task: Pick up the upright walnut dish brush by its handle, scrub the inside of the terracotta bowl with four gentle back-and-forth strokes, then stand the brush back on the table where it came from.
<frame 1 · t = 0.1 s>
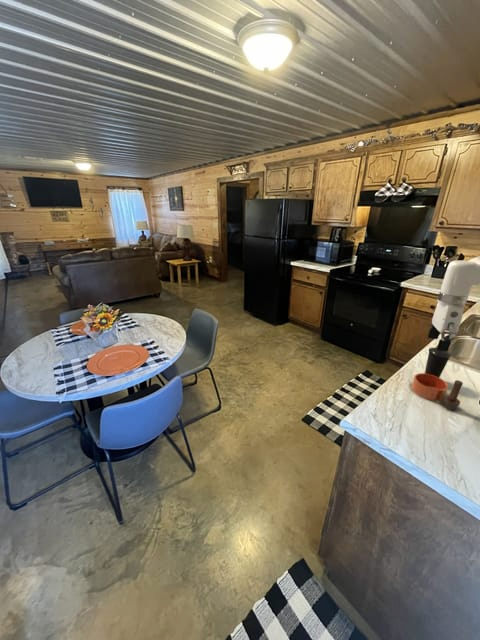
hand: (436, 344, 94), 23 cm above the counter, tool pointing down, fingers open, 9 cm apart
bowl: (427, 391, 106), on the counter
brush: (449, 406, 98), on the counter
drinking cup: (430, 380, 113), on the counter
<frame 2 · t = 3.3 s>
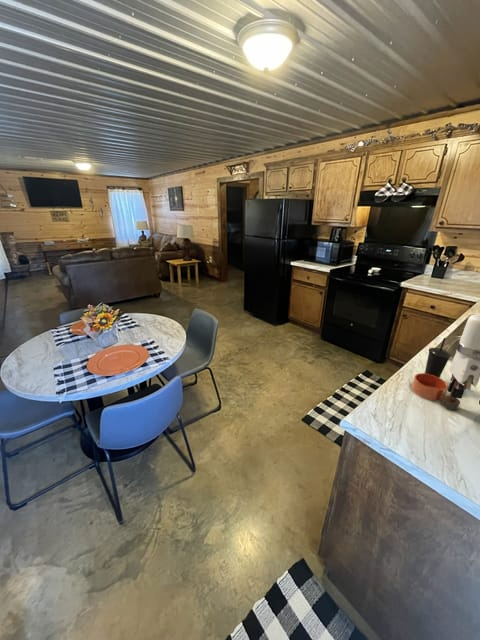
hand: (454, 394, 95), 6 cm above the counter, tool pointing down, fingers closed on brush
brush: (449, 406, 98), on the counter, touching gripper
everything else where it was.
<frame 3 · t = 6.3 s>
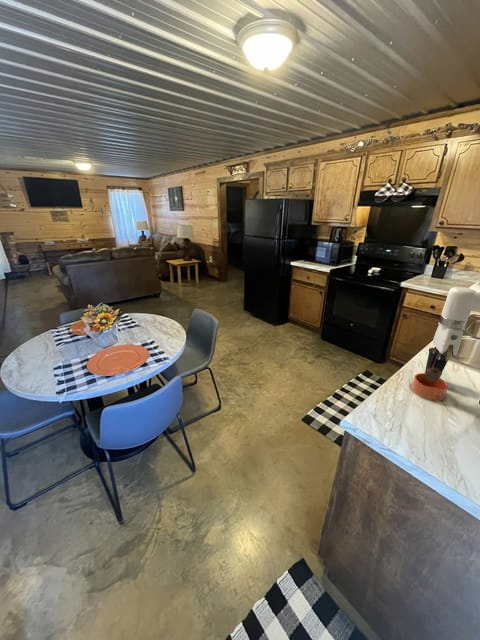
hand: (436, 365, 100), 13 cm above the counter, tool pointing down, fingers closed on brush
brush: (432, 377, 102), point 7 cm above the counter, touching gripper
everything else where it was.
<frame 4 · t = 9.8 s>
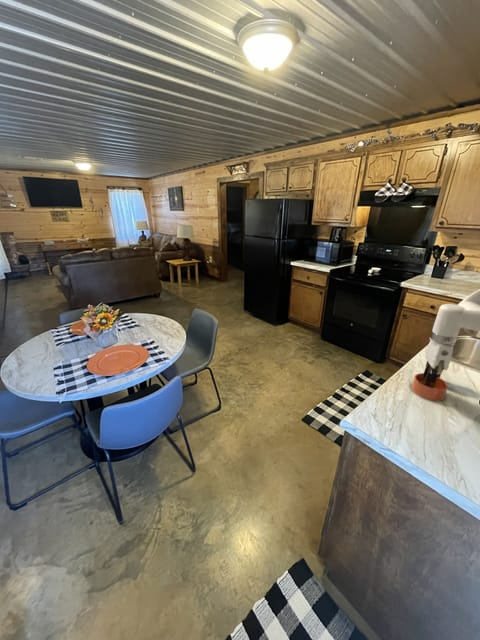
hand: (428, 379, 103), 6 cm above the counter, tool pointing down, fingers closed on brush
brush: (424, 390, 105), point 1 cm above the counter, touching gripper
everything else where it was.
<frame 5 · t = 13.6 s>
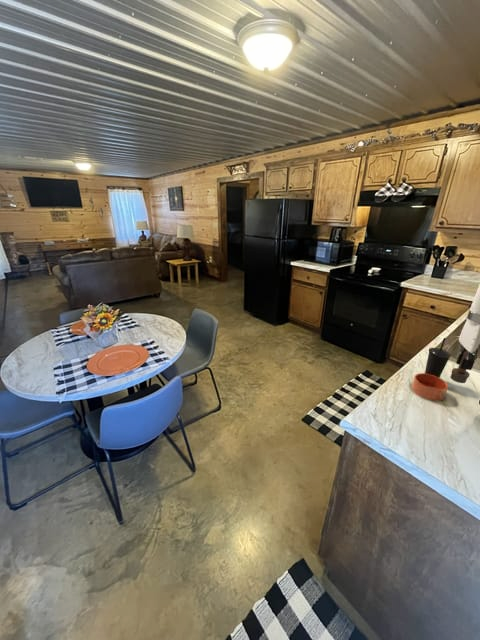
hand: (463, 366, 91), 17 cm above the counter, tool pointing down, fingers closed on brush
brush: (457, 379, 93), point 12 cm above the counter, touching gripper
everything else where it was.
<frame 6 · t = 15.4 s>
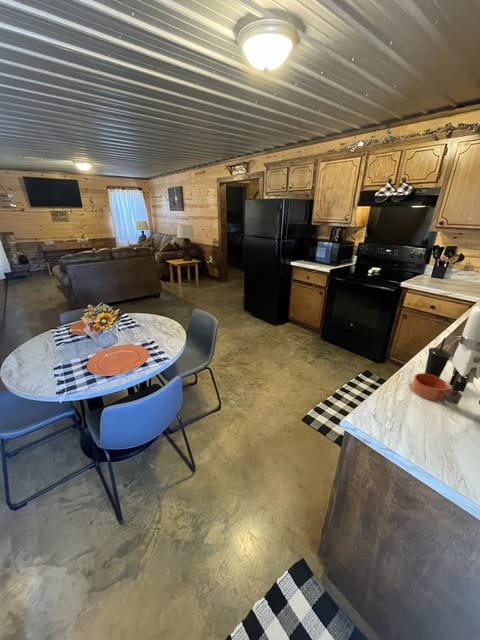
hand: (456, 387, 94), 9 cm above the counter, tool pointing down, fingers closed on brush
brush: (450, 400, 96), point 3 cm above the counter, touching gripper
everything else where it was.
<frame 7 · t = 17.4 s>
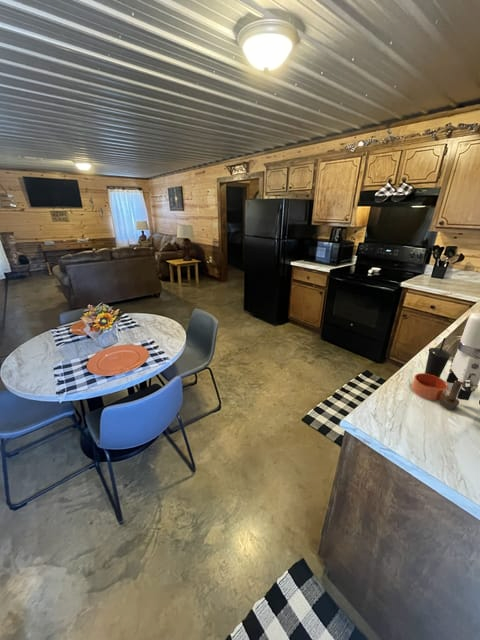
hand: (456, 390, 95), 7 cm above the counter, tool pointing down, fingers open, 9 cm apart
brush: (448, 406, 98), on the counter
everything else where it was.
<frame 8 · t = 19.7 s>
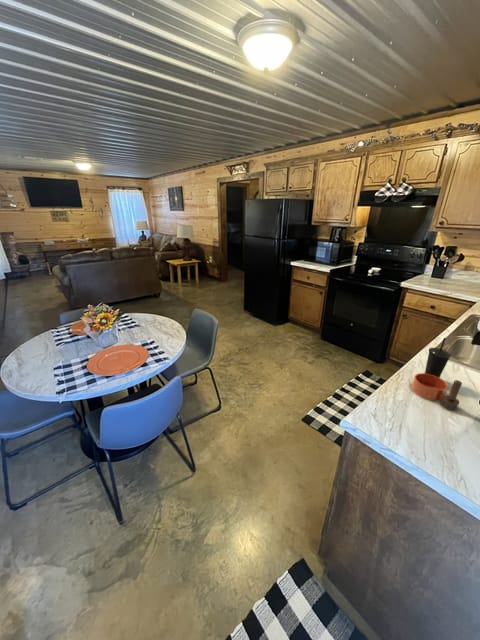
nothing on the counter moved.
at the end: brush 0.5 cm from the target spot, on the counter; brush tilted 0°; bowl moved 0.0 cm from its start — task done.
